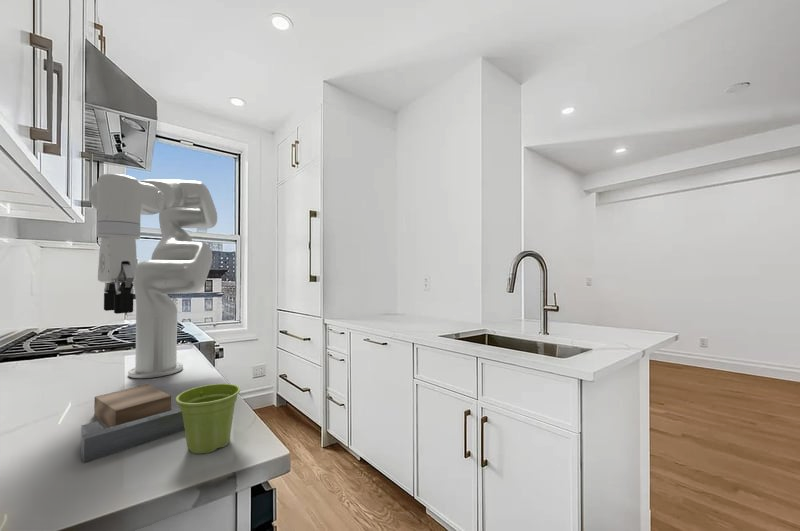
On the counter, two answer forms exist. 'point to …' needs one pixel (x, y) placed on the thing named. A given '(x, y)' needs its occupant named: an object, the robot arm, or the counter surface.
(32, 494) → the counter surface
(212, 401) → the plant pot
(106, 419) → the walnut slab
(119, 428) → the stop bracket
